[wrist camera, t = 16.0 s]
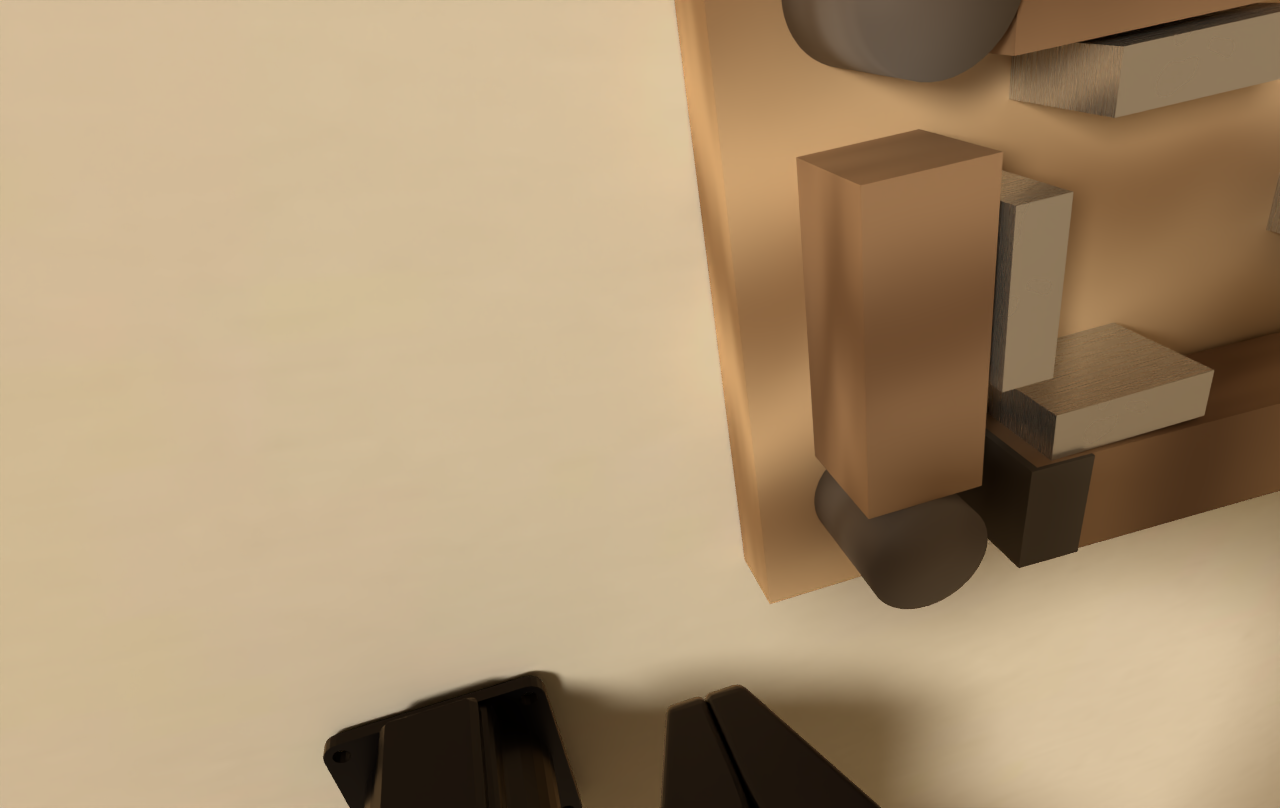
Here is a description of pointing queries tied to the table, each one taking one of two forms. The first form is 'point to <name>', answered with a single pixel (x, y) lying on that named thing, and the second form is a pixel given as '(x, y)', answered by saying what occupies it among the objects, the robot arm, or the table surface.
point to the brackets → (1039, 229)
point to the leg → (1138, 466)
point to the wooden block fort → (935, 253)
